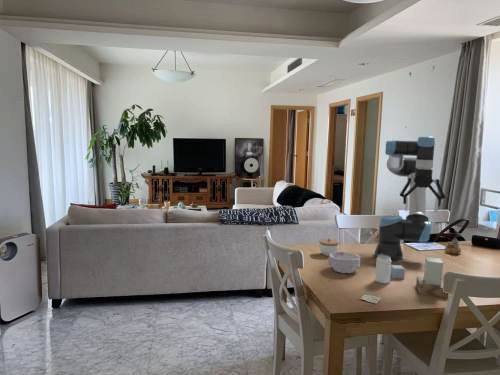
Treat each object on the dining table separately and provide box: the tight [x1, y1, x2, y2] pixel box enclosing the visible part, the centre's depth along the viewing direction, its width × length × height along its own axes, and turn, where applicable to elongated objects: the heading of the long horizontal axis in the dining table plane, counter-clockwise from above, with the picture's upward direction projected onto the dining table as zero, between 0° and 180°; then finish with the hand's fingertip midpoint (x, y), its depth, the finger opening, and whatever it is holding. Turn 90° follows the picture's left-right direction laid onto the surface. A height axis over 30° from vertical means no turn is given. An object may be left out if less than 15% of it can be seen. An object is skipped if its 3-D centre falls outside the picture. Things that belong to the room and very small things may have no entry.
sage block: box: [423, 256, 444, 286], centre depth 160 cm, size 6×6×10 cm
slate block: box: [390, 264, 406, 280], centre depth 178 cm, size 5×5×5 cm
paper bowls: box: [328, 251, 361, 274], centre depth 185 cm, size 15×15×8 cm
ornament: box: [444, 236, 462, 255], centre depth 219 cm, size 8×6×10 cm
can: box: [374, 255, 392, 285], centre depth 171 cm, size 6×6×12 cm
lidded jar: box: [318, 238, 339, 256], centre depth 212 cm, size 11×11×9 cm
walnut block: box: [415, 276, 450, 298], centre depth 161 cm, size 11×11×4 cm
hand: (420, 211), depth 182 cm, fingers open, 13 cm apart
